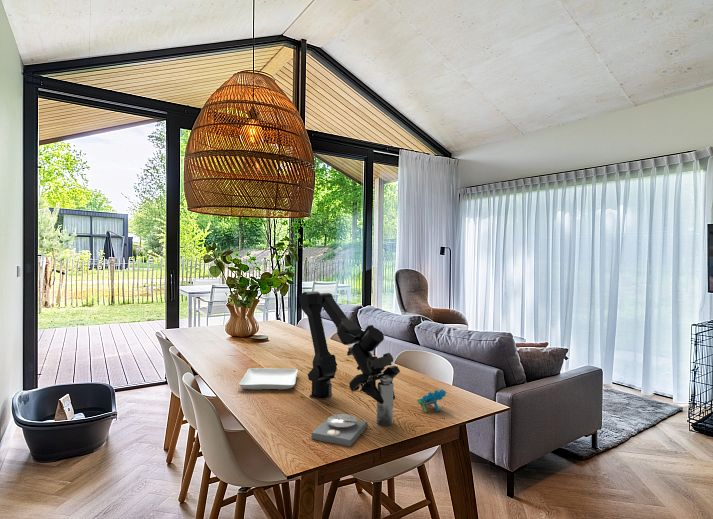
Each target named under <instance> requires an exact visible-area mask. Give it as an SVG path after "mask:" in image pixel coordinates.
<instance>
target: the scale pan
mask: <svg viewBox="0 0 713 519" xmlns="http://www.w3.org/2000/svg"><path fill="white" fill-rule="evenodd" d="M326 420H327V423H328V424H329V425H331V426H333V427H338V428H348V427H352V426H354V425H356V424H357V420H358V418H357V417H356V416H355V415H351V414H348V413H337V414H332V416H331V415H330V416H328V417H327V418H326Z"/></svg>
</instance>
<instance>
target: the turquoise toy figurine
mask: <svg viewBox="0 0 713 519" xmlns="http://www.w3.org/2000/svg"><path fill="white" fill-rule="evenodd" d="M446 391H447V390H444V389H439V390H438V389H436V390H434V391H433V392H432V391H431V392H428V393H427V395H425V394H424V395H423V396H422V397H421V398H418V399H417V400H416V401H417V404H418V405H420V407H422V408H423V411H424V413H427V412H428V410H427V408H426V406H430V405H434V408H435V410H436V412H440V411H441V409H440V407H439V405H438V401H441V400H443V398H444V397H446V394H447V392H446Z"/></svg>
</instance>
